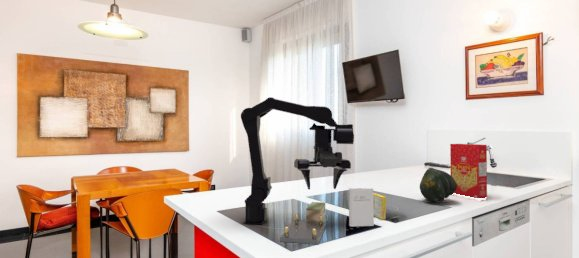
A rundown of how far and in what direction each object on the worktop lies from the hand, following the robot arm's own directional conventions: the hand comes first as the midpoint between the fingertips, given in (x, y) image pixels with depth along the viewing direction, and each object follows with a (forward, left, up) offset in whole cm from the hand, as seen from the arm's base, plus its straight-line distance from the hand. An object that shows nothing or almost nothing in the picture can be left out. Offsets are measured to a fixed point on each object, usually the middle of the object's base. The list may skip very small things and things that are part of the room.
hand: (321, 189), depth 112 cm
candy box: (+17, +17, -12) cm, 27 cm away
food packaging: (+61, +57, -12) cm, 84 cm away
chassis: (-4, -11, -12) cm, 17 cm away
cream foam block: (-3, +6, -12) cm, 14 cm away
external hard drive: (+13, +1, -12) cm, 18 cm away
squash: (+45, +43, -12) cm, 63 cm away
